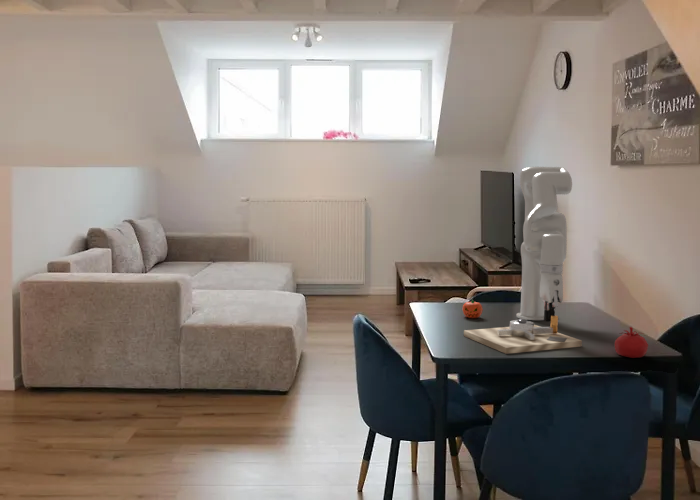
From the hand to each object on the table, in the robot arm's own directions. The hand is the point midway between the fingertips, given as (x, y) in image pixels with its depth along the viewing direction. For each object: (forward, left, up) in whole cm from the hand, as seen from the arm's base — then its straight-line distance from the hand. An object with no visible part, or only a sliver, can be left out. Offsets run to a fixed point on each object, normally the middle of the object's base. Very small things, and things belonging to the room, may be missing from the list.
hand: (549, 320), depth 250 cm
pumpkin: (+7, -39, -6) cm, 40 cm away
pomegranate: (-10, +29, -6) cm, 31 cm away
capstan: (+10, +1, -4) cm, 11 cm away
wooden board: (+12, +1, -6) cm, 14 cm away
